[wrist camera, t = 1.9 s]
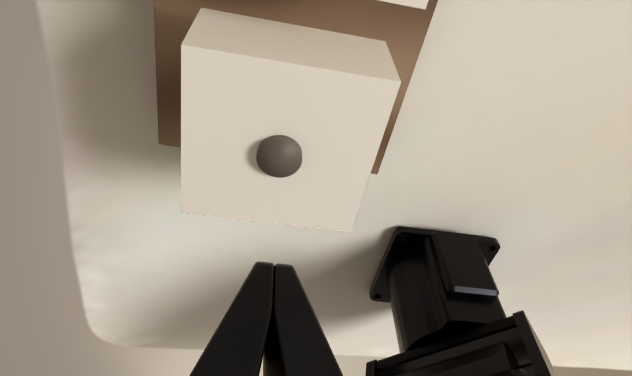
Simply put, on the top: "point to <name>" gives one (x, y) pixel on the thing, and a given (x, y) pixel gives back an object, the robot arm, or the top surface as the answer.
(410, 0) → the tile two
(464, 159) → the top surface
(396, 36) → the brown flat slab
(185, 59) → the tile one
